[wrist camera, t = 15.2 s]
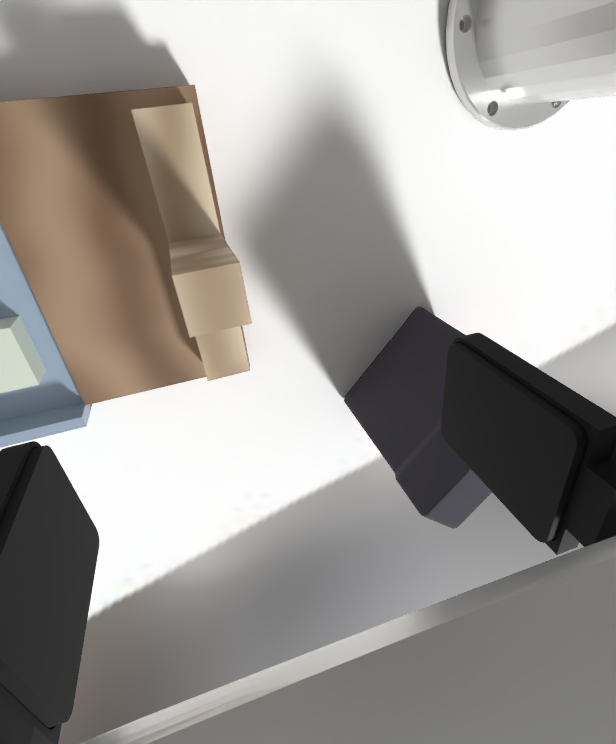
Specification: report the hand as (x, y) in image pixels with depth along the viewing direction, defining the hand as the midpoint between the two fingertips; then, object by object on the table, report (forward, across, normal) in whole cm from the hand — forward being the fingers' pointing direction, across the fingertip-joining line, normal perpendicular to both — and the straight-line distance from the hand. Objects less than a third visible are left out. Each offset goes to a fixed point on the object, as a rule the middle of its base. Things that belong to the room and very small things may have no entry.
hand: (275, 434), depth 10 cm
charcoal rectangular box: (+23, -14, +14) cm, 30 cm away
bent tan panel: (+20, +1, 0) cm, 20 cm away
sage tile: (+21, +14, +4) cm, 25 cm away
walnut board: (+22, +5, 0) cm, 23 cm away
